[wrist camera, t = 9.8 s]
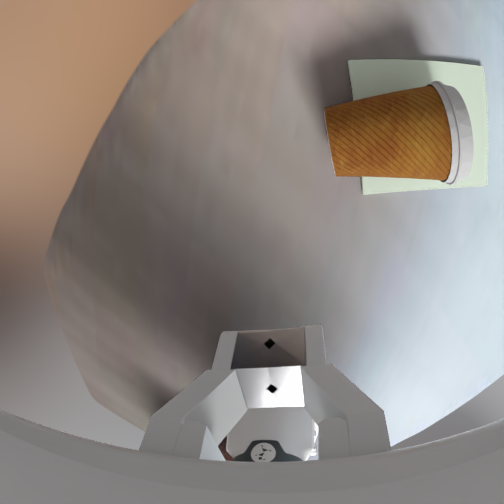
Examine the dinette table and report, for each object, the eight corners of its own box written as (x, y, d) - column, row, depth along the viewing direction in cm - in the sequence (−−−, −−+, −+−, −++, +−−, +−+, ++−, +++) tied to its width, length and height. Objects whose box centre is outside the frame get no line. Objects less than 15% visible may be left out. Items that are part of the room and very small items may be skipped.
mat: (484, 184, 29) (486, 185, 29) (362, 193, 32) (363, 194, 31) (480, 66, 23) (483, 66, 22) (347, 60, 26) (348, 60, 25)
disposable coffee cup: (340, 196, 31) (451, 187, 27) (333, 190, 22) (483, 179, 18) (327, 109, 31) (434, 100, 26) (313, 73, 22) (456, 63, 18)
